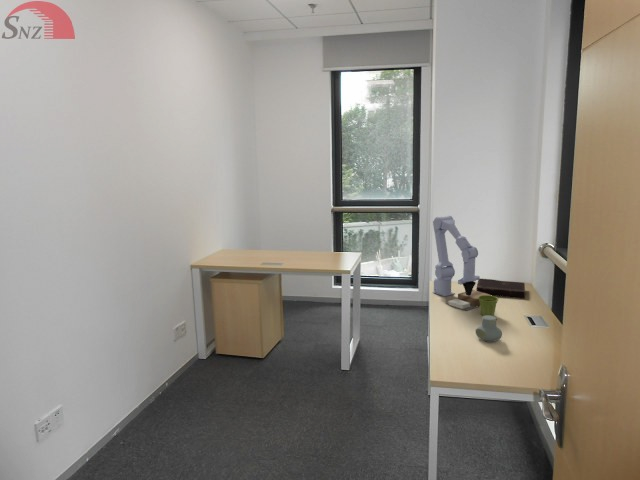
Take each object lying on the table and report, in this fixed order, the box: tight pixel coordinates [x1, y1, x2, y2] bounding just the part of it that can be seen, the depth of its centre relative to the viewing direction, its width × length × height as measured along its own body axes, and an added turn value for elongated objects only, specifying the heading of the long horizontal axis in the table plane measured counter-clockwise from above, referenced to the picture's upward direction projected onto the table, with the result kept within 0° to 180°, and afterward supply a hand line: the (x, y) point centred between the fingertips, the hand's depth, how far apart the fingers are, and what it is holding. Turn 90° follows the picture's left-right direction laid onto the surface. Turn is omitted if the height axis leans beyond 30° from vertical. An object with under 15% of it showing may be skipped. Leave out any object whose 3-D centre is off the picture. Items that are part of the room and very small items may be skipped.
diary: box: [475, 278, 526, 299], centre depth 269 cm, size 19×25×5 cm
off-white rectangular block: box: [448, 298, 470, 310], centre depth 247 cm, size 9×6×2 cm, turn 34°
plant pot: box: [478, 295, 499, 317], centre depth 233 cm, size 9×9×9 cm
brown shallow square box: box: [457, 289, 491, 308], centre depth 254 cm, size 12×12×4 cm
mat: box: [445, 301, 478, 312], centre depth 248 cm, size 14×8×1 cm, turn 33°
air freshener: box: [475, 315, 503, 343], centre depth 205 cm, size 11×8×10 cm
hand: (468, 294), depth 251 cm, fingers closed
